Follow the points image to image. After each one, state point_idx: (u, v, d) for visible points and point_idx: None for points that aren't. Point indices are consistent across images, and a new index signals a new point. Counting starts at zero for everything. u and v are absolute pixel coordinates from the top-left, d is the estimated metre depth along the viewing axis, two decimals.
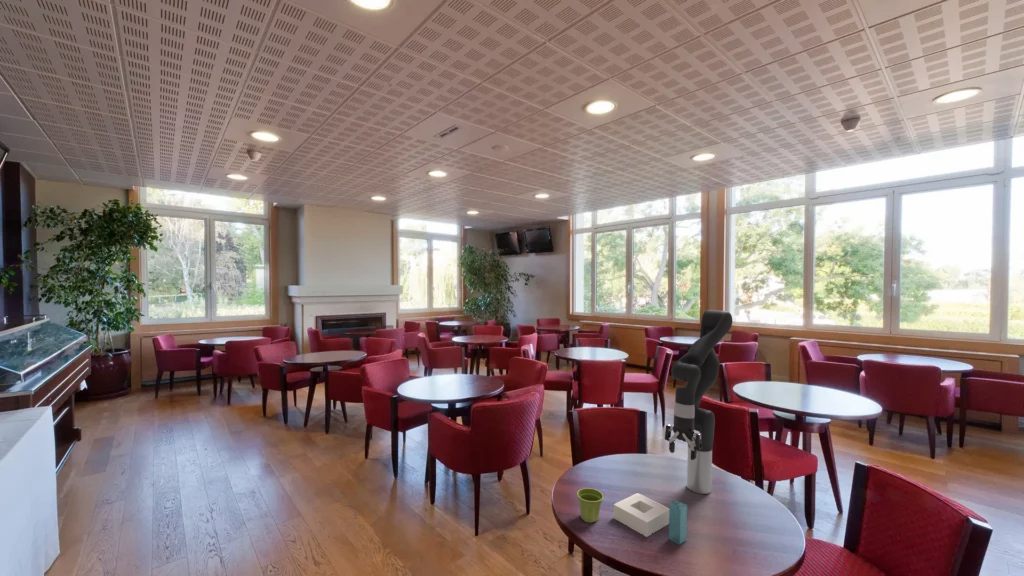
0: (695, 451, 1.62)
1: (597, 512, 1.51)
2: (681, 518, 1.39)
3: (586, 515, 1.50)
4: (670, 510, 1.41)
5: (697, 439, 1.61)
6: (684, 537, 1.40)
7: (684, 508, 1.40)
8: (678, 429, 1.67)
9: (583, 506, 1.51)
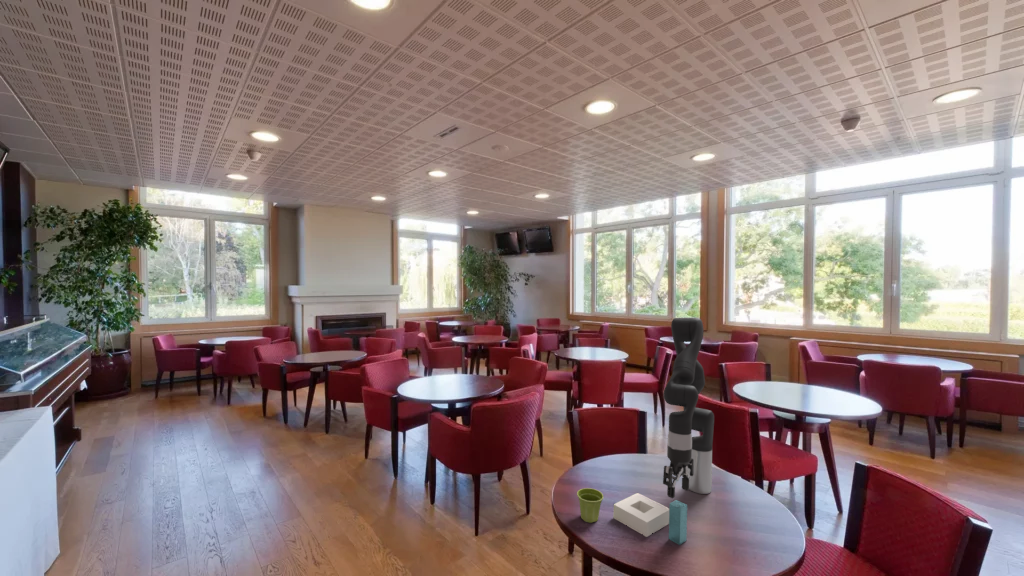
0: None
1: (597, 512, 1.51)
2: (681, 518, 1.39)
3: (586, 515, 1.50)
4: (670, 510, 1.41)
5: (692, 464, 1.44)
6: (684, 537, 1.40)
7: (684, 508, 1.40)
8: (679, 465, 1.39)
9: (583, 506, 1.51)
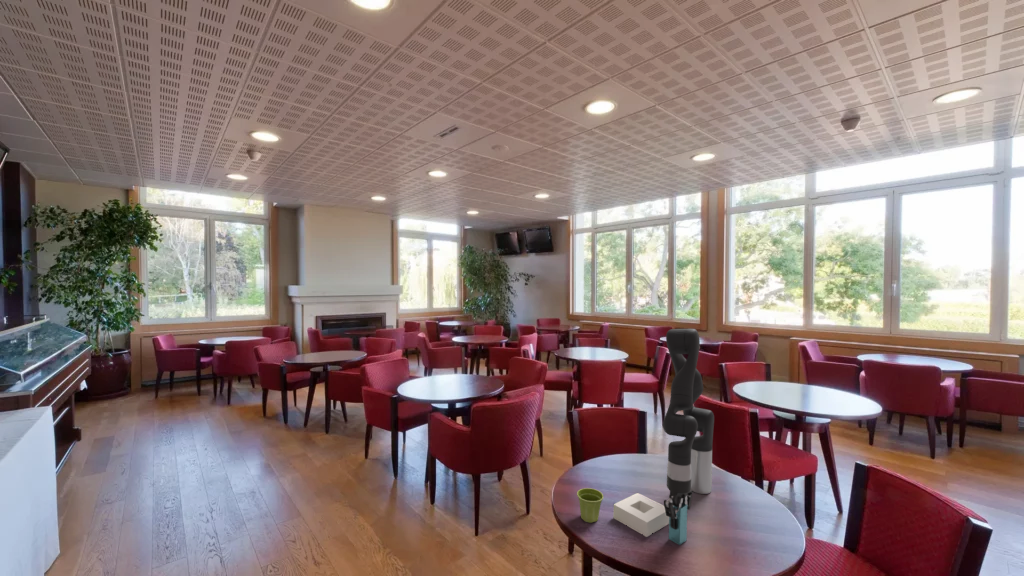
0: None
1: (597, 512, 1.51)
2: (681, 518, 1.39)
3: (586, 515, 1.50)
4: None
5: (691, 497, 1.43)
6: (684, 537, 1.40)
7: (684, 508, 1.40)
8: (679, 495, 1.39)
9: (583, 506, 1.51)
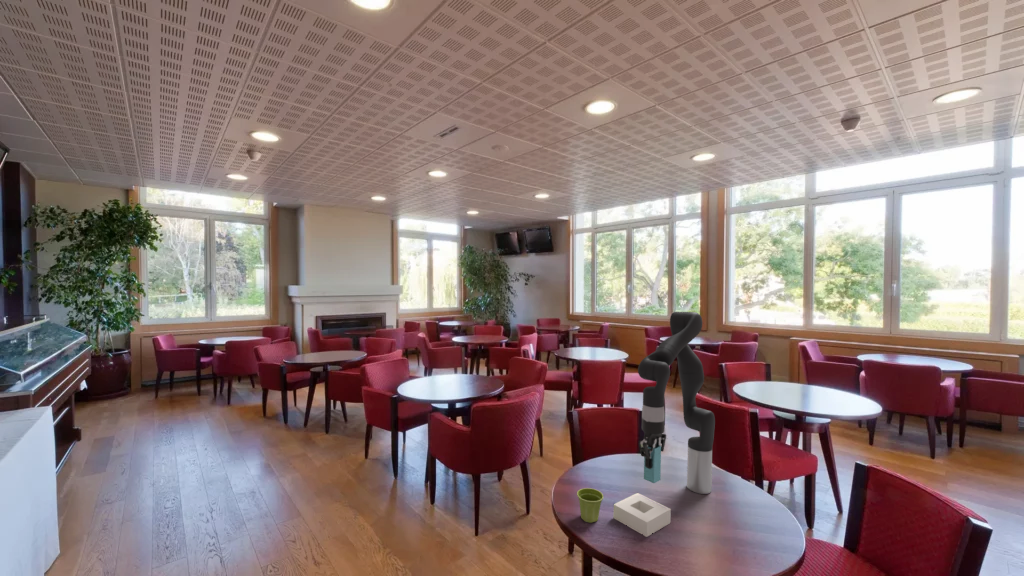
0: None
1: (597, 512, 1.51)
2: (655, 457, 1.46)
3: (586, 515, 1.50)
4: None
5: (664, 439, 1.51)
6: (658, 476, 1.48)
7: (658, 449, 1.47)
8: (653, 436, 1.47)
9: (583, 506, 1.51)
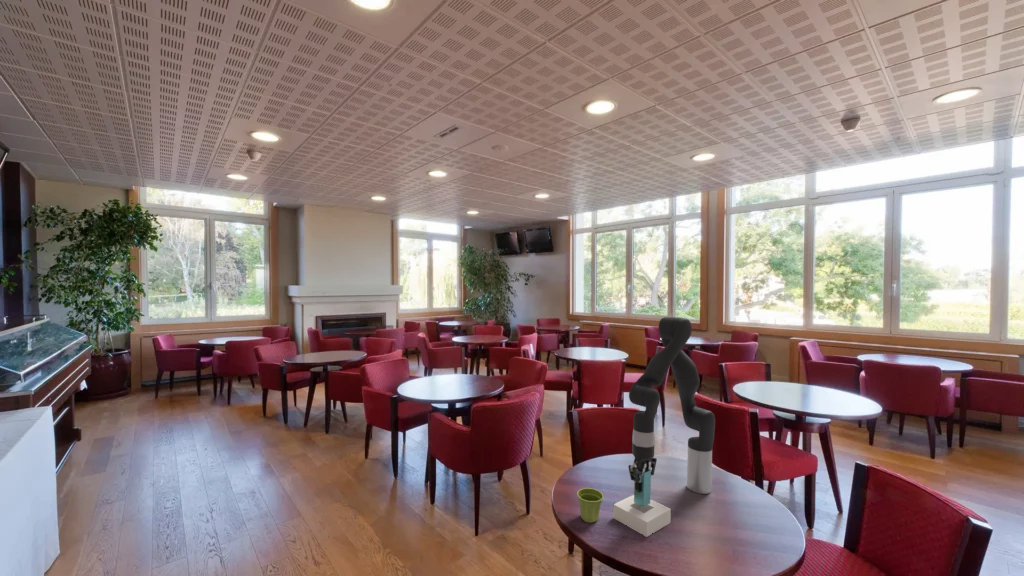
0: None
1: (597, 512, 1.51)
2: (645, 481, 1.50)
3: (586, 515, 1.50)
4: None
5: (655, 463, 1.54)
6: (648, 500, 1.51)
7: (648, 473, 1.51)
8: (643, 461, 1.50)
9: (583, 506, 1.51)
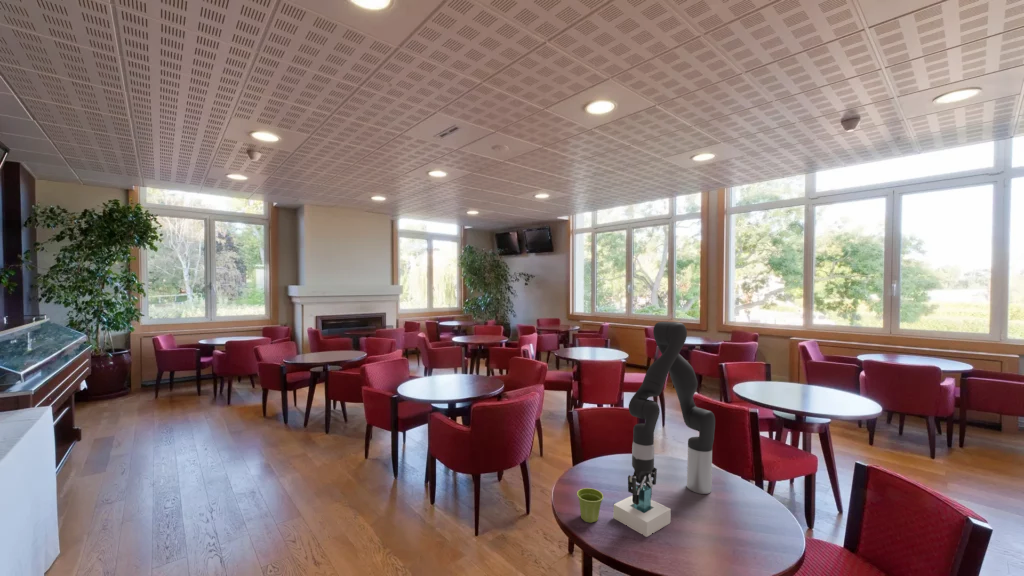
0: None
1: (597, 512, 1.51)
2: (645, 500, 1.50)
3: (586, 515, 1.50)
4: None
5: (655, 473, 1.55)
6: None
7: (648, 491, 1.51)
8: (642, 473, 1.50)
9: (583, 506, 1.51)
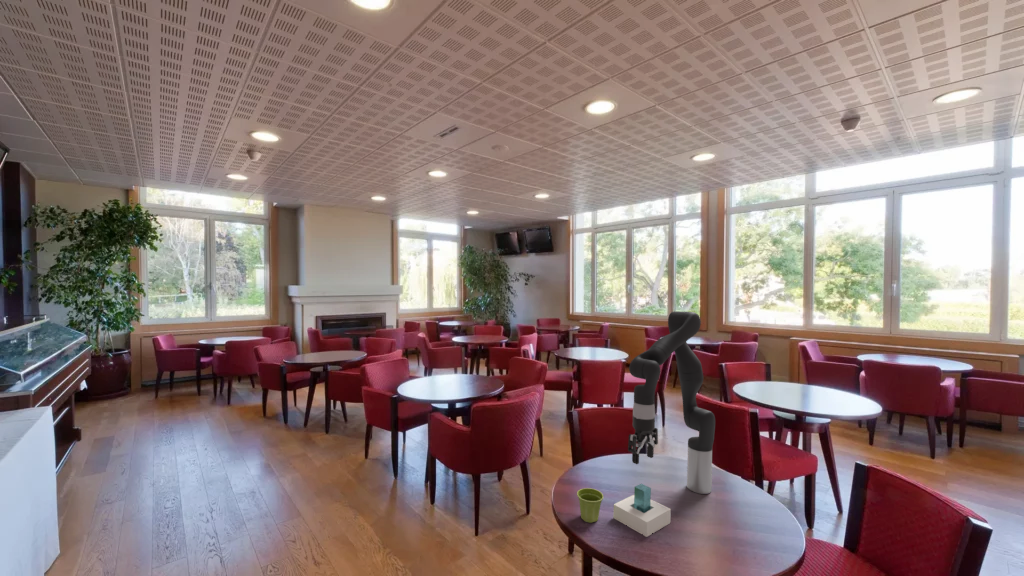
0: None
1: (597, 512, 1.51)
2: (645, 499, 1.50)
3: (586, 515, 1.50)
4: (635, 493, 1.52)
5: (656, 433, 1.55)
6: None
7: (648, 491, 1.51)
8: (643, 433, 1.50)
9: (583, 506, 1.51)
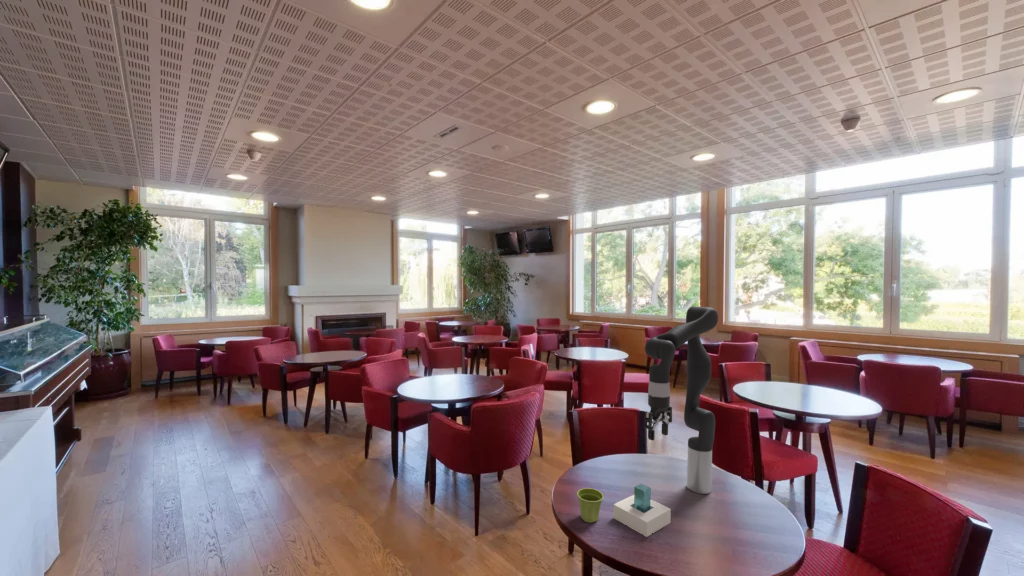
0: None
1: (597, 512, 1.51)
2: (645, 499, 1.50)
3: (586, 515, 1.50)
4: (635, 493, 1.52)
5: (671, 411, 1.60)
6: None
7: (647, 491, 1.51)
8: (658, 411, 1.55)
9: (583, 506, 1.51)
